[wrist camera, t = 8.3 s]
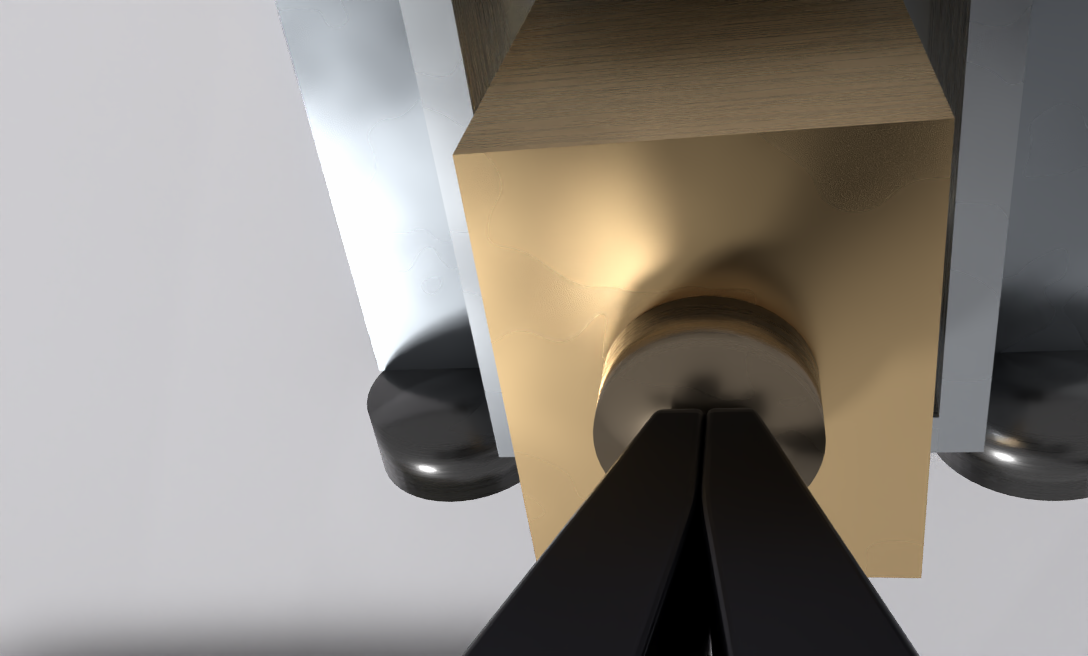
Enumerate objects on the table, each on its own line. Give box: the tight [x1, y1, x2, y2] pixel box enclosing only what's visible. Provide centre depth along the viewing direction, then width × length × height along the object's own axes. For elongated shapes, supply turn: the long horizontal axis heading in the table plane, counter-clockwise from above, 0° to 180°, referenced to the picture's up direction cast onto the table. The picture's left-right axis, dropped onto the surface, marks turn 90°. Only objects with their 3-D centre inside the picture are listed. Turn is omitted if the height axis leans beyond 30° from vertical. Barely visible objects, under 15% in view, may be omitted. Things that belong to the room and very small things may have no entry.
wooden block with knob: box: [453, 0, 955, 578], centre depth 12 cm, size 4×5×7 cm
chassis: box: [275, 0, 1088, 502], centre depth 14 cm, size 12×10×4 cm
